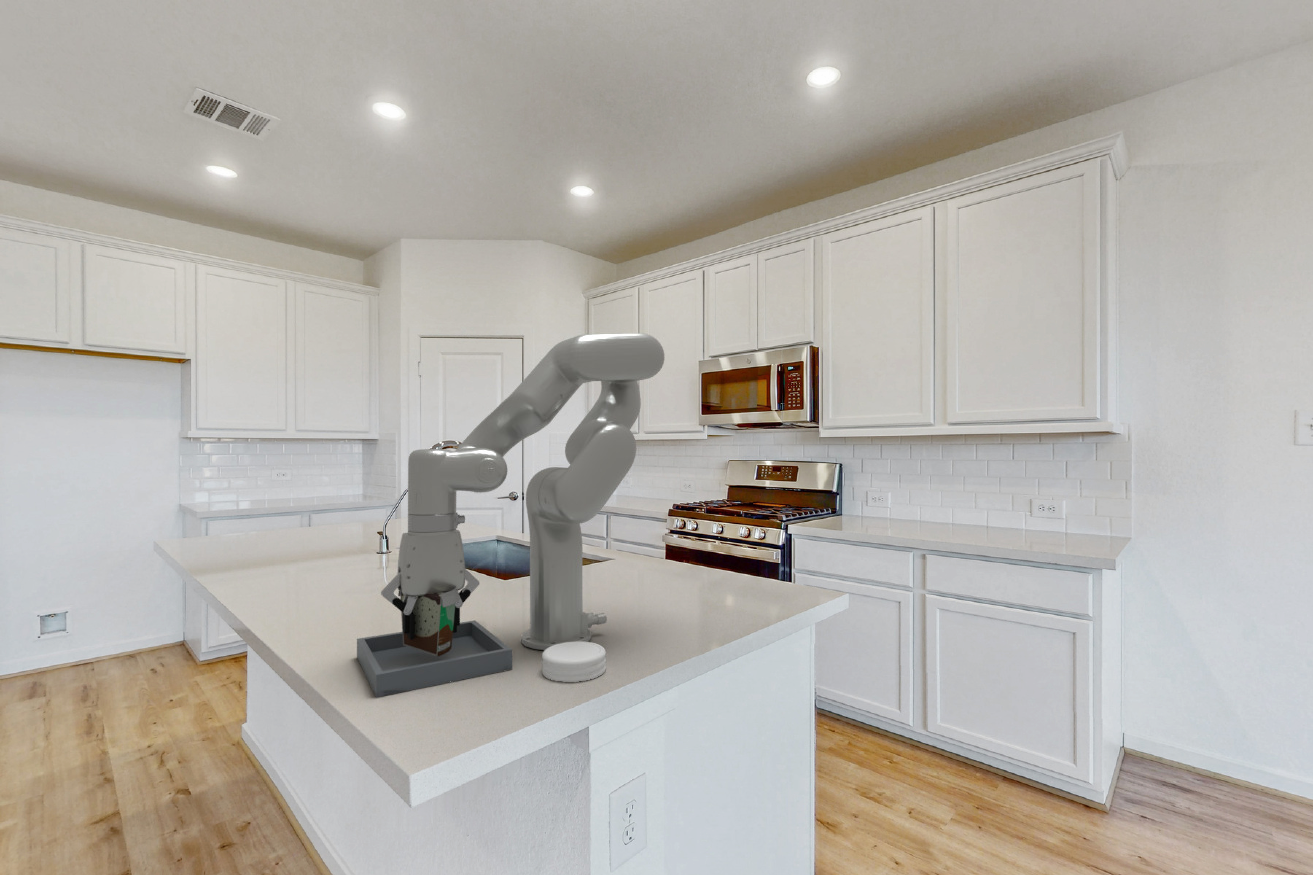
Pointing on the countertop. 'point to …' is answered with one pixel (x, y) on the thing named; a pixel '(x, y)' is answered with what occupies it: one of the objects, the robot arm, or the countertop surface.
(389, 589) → the robot arm
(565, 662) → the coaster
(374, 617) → the countertop surface
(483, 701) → the countertop surface
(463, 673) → the tray
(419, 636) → the food container
